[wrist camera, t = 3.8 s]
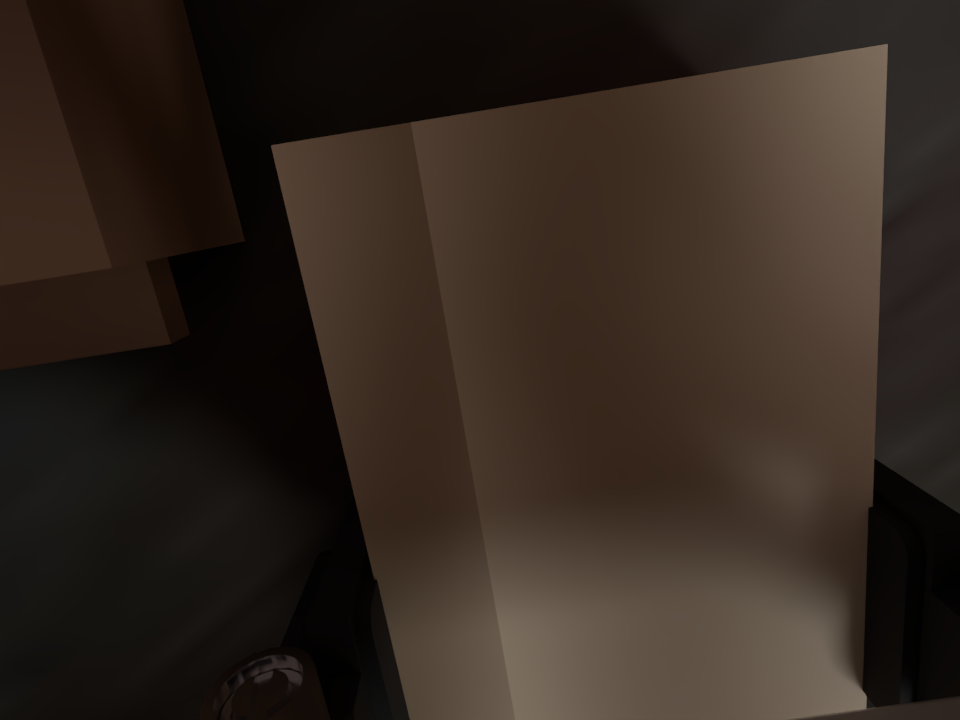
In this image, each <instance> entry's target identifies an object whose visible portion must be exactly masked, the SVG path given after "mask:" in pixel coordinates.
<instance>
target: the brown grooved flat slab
mask: <svg viewBox="0 0 960 720" xmlns="http://www.w3.org/2000/svg"><path fill="white" fill-rule="evenodd" d="M244 241H245V239H244V235H243V231H242V227H241V223H240V219H239V215H238V211H237V208H236V204H235V200H234V196H233V192H232V188H231V184H230V181H229V177H228V173H227V169H226V165H225V161H224V157H223V153H222V150H221V146H220V142H219V138H218V134H217V130H216V126H215V122H214V119H213V115H212V111H211V107H210V103H209V99H208V95H207V92H206V88H205V84H204V80H203V76H202V72H201V68H200V64H199V61H198V57H197V53H196V49H195V45H194V41H193V37H192V33H191V30H190V26H189V22H188V18H187V14H186V10H185V6H184V2H183V0H0V370H7V369H13V368H19V367H26V366H32V365H39V364H45V363H52V362H58V361H64V360H71V359H77V358H84V357H90V356H97V355H103V354H110V353H116V352H122V351H129V350H135V349H142V348H148V347H155V346H161V345H168V344H172V343H174V342H176V341H178V340H180V339H182V338H184V337H186V336H188V335H190V332H189V329H188V325H187V322H186V319H185V315H184V312H183V309H182V305H181V302H180V298H179V295H178V292H177V288H176V285H175V282H174V278H173V275H172V271H171V268H170V265H169V261H168V258H167V257H170V256H175V255H180V254H185V253H190V252H194V251H199V250H204V249H209V248H214V247H219V246H224V245H229V244H234V243H239V242H244Z"/></svg>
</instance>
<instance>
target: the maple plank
mask: <svg viewBox="0 0 960 720" xmlns="http://www.w3.org/2000/svg"><path fill="white" fill-rule="evenodd" d="M887 51H888V44H885V45H879V46H872V47H866V48H860V49H854V50H848V51H842V52H836V53H830V54H824V55H818V56H812V57H806V58H799V59H793V60H787V61H781V62H775V63H769V64H763V65H757V66H751V67H745V68H739V69H733V70H726V71H720V72H714V73H708V74H702V75H696V76H690V77H684V78H678V79H672V80H666V81H660V82H653V83H647V84H641V85H635V86H629V87H623V88H617V89H611V90H605V91H599V92H593V93H587V94H580V95H574V96H568V97H562V98H556V99H550V100H544V101H538V102H532V103H526V104H520V105H514V106H507V107H501V108H495V109H489V110H483V111H477V112H471V113H465V114H459V115H453V116H447V117H441V118H434V119H428V120H422V121H416V122H410V123H404V124H398V125H392V126H386V127H380V128H374V129H368V130H361V131H355V132H349V133H343V134H337V135H331V136H325V137H319V138H313V139H307V140H301V141H295V142H288V143H282V144H276V145H271V148H272V153H273V157H274V161H275V165H276V169H277V174H278V178H279V182H280V186H281V190H282V195H283V199H284V203H285V207H286V211H287V216H288V220H289V224H290V228H291V232H292V237H293V241H294V245H295V249H296V253H297V258H298V262H299V266H300V270H301V274H302V279H303V283H304V287H305V291H306V295H307V300H308V304H309V308H310V312H311V316H312V320H313V325H314V329H315V333H316V337H317V341H318V346H319V350H320V354H321V358H322V362H323V367H324V371H325V375H326V379H327V383H328V388H329V392H330V396H331V400H332V404H333V409H334V413H335V417H336V421H337V425H338V430H339V434H340V438H341V442H342V446H343V451H344V455H345V459H346V463H347V467H348V472H349V476H350V480H351V484H352V488H353V492H354V497H355V501H356V505H357V509H358V513H359V518H360V522H361V526H362V530H363V534H364V539H365V543H366V547H367V551H368V555H369V560H370V564H371V568H372V572H373V576H374V580H375V579H377V582H378V586H379V590H380V595H381V599H382V603H383V607H384V612H385V616H386V620H387V624H388V629H389V633H390V637H391V641H392V646H393V650H394V654H395V658H396V663H397V667H398V671H399V675H400V680H401V684H402V688H403V693H404V697H405V701H406V705H407V710H408V714H409V718H410V720H788V719H795V718H802V717H810V716H817V715H824V714H831V713H839V712H846V711H853V710H860V709H866V698H867V696H866V694H865V693H864V692H863V662H864V631H865V600H866V569H867V538H868V507H873V482H874V451H875V421H876V390H877V359H878V328H879V297H880V267H881V236H882V205H883V174H884V143H885V113H886V82H887Z"/></svg>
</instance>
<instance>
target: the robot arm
mask: <svg viewBox="0 0 960 720" xmlns="http://www.w3.org/2000/svg"><path fill="white" fill-rule="evenodd" d="M863 692H864V693H865V694H866V696H867V697H868V698H869V699H870V701H871V702H872V703H873V704H874V706H875V708H868V709H860V710H853V711H846V712H839V713H831V714H824V715H817V716H810V717H802V718H795V719H788V720H960V514H959V513H957V512H956V511H954V510H953V509H951V508H950V507H948V506H946V505H945V504H943V503H942V502H940V501H939V500H937V499H936V498H934V497H933V496H931V495H930V494H928V493H926V492H925V491H923V490H922V489H920V488H919V487H917V486H916V485H914V484H913V483H911V482H909V481H908V480H906V479H905V478H903V477H902V476H900V475H899V474H897V473H896V472H894V471H893V470H891V469H889V468H888V467H886V466H885V465H883V464H882V463H880V462H879V461H877V460H876V459H874V482H873V507H868V538H867V569H866V600H865V631H864V662H863ZM199 720H410V718H409V714H408V710H407V705H406V701H405V697H404V693H403V688H402V684H401V680H400V675H399V671H398V667H397V663H396V658H395V654H394V650H393V646H392V641H391V637H390V633H389V629H388V624H387V620H386V616H385V612H384V607H383V603H382V599H381V595H380V590H379V586H378V582H377V579H375V580H374V576H373V572H372V568H371V564H370V560H369V555H368V551H367V547H366V543H365V539H364V534H363V530H362V526H361V522H360V518H359V513H358V509H357V505H356V501H355V497H354V495H353V498H352V501H351V503H350V506H349V509H348V511H347V514H346V517H345V519H344V522H343V525H342V527H341V530H340V533H339V535H338V538H337V541H336V543H335V546H334V549H333V550H330V551H324V552H321V553H320V554H319V555H318V557H317V559H316V561H315V564H314V566H313V569H312V571H311V573H310V576H309V578H308V581H307V583H306V586H305V588H304V590H303V593H302V595H301V598H300V600H299V602H298V605H297V607H296V610H295V612H294V615H293V617H292V619H291V622H290V624H289V627H288V629H287V632H286V634H285V636H284V639H283V641H282V644H281V646H280V647H275V648H269V649H266V650H263V651H260V652H257V653H254V654H252V655H250V656H248V657H246V658H244V659H243V660H241V661H239V662H237V663H236V664H235V665H233V666H232V667H231V668H229V669H228V670H227V671H225V672H224V673H223V674H222V675H221V676H220V677H219V678H218V679H217V680H216V681H215V683H214V684H213V685H212V686H211V687H210V689H209V690H208V692H207V694H206V696H205V697H204V699H203V701H202V705H201V710H200V715H199Z"/></svg>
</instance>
